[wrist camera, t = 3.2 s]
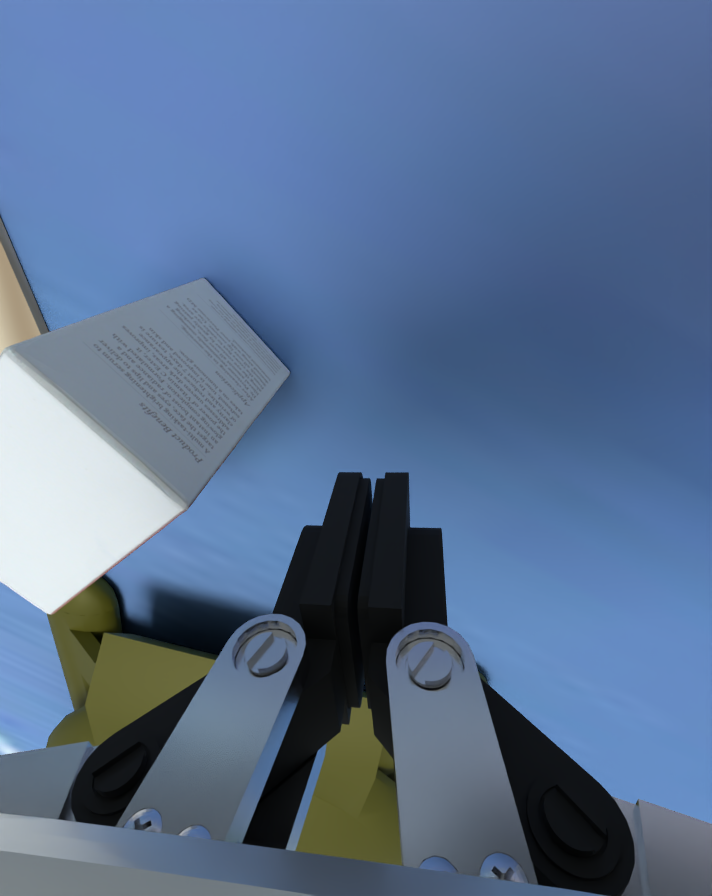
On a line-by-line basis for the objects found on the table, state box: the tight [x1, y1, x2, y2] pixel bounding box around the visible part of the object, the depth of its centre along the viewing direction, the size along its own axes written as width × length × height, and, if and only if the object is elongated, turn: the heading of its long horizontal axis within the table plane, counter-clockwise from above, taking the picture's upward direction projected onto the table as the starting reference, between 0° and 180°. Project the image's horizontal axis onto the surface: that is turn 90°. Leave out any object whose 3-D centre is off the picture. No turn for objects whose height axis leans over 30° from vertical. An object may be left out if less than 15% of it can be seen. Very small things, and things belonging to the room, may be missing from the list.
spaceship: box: [46, 577, 488, 866], centre depth 34 cm, size 35×31×10 cm
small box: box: [0, 278, 290, 615], centre depth 17 cm, size 8×6×10 cm
